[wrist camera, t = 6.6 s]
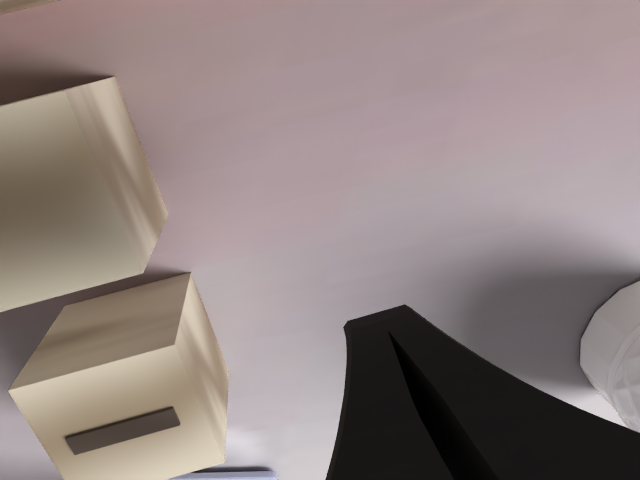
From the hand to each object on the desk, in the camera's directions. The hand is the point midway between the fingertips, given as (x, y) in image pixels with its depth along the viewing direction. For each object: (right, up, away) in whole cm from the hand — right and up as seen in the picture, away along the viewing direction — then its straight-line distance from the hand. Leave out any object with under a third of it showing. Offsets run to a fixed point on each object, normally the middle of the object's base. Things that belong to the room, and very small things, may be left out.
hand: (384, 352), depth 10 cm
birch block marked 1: (-8, -2, +10) cm, 13 cm away
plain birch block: (-10, +5, +7) cm, 13 cm away
